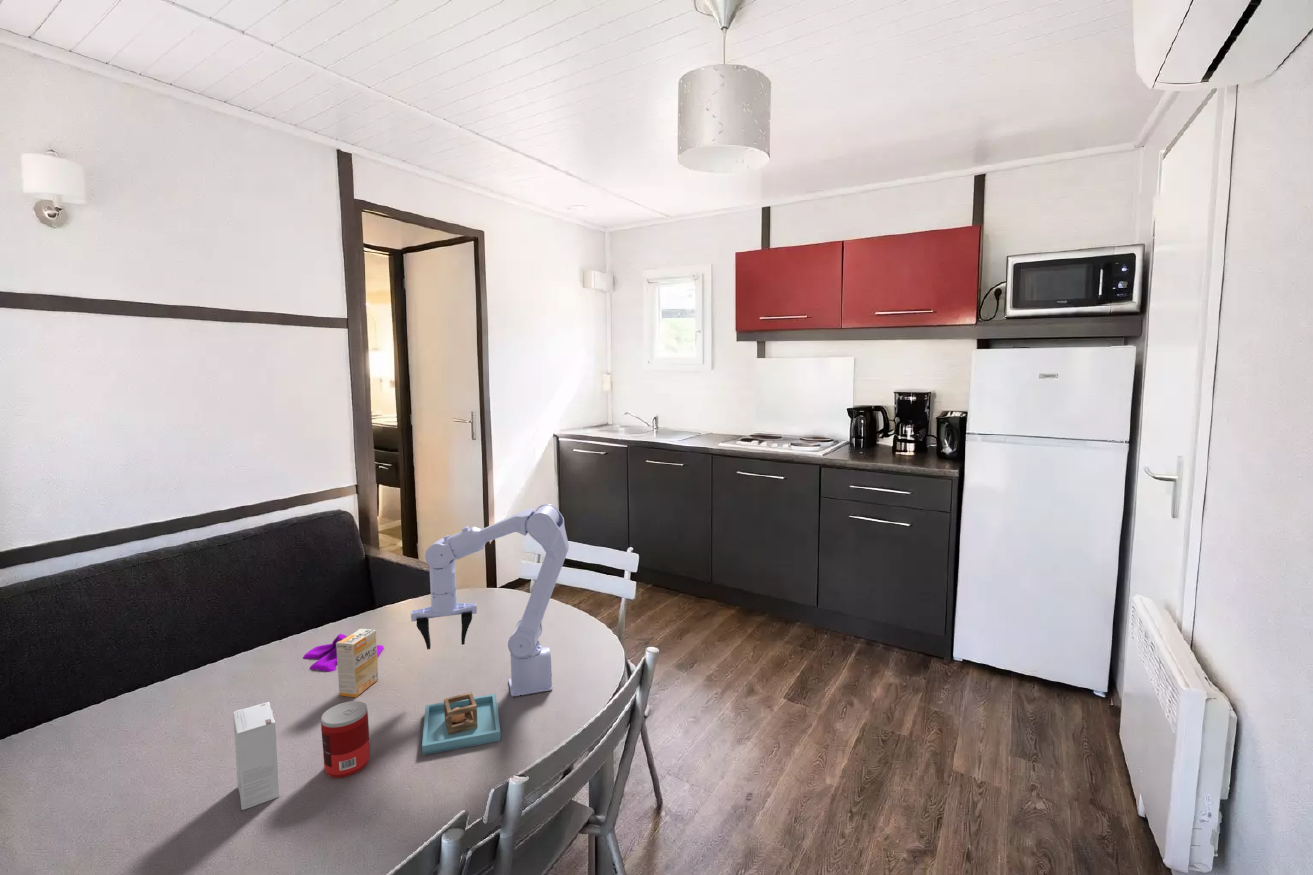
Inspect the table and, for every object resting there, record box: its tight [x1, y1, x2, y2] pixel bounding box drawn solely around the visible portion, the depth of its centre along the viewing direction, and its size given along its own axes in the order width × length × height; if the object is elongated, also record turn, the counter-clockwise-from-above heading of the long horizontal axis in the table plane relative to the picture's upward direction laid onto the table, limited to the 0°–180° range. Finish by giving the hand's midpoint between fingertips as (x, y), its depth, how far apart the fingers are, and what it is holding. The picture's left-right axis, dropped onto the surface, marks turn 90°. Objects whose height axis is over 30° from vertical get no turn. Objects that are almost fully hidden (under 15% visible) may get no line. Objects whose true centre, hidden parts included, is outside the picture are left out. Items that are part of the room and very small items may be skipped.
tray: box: [421, 693, 501, 756], centre depth 128 cm, size 15×15×2 cm
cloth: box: [302, 633, 385, 673], centre depth 161 cm, size 22×19×6 cm
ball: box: [452, 707, 465, 723], centre depth 128 cm, size 3×3×3 cm
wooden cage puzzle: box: [443, 691, 478, 735], centre depth 128 cm, size 6×6×5 cm
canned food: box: [320, 700, 371, 779], centre depth 115 cm, size 8×8×11 cm
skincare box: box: [232, 701, 280, 811], centre depth 108 cm, size 8×6×15 cm
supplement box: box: [336, 628, 379, 698], centre depth 143 cm, size 8×5×13 cm, turn 168°
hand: (446, 645), depth 143 cm, fingers open, 7 cm apart
